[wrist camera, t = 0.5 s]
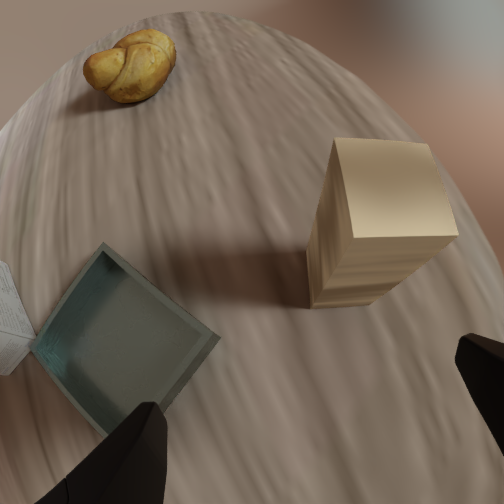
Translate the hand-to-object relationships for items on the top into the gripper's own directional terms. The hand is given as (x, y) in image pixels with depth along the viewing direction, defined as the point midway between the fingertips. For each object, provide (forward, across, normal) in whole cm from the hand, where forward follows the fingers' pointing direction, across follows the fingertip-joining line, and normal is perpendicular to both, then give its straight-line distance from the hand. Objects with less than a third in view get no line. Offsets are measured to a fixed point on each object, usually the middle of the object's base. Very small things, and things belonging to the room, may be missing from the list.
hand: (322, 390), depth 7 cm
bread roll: (+34, +11, -19) cm, 40 cm away
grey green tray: (+12, +12, +6) cm, 18 cm away
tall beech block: (+14, -5, +4) cm, 16 cm away
